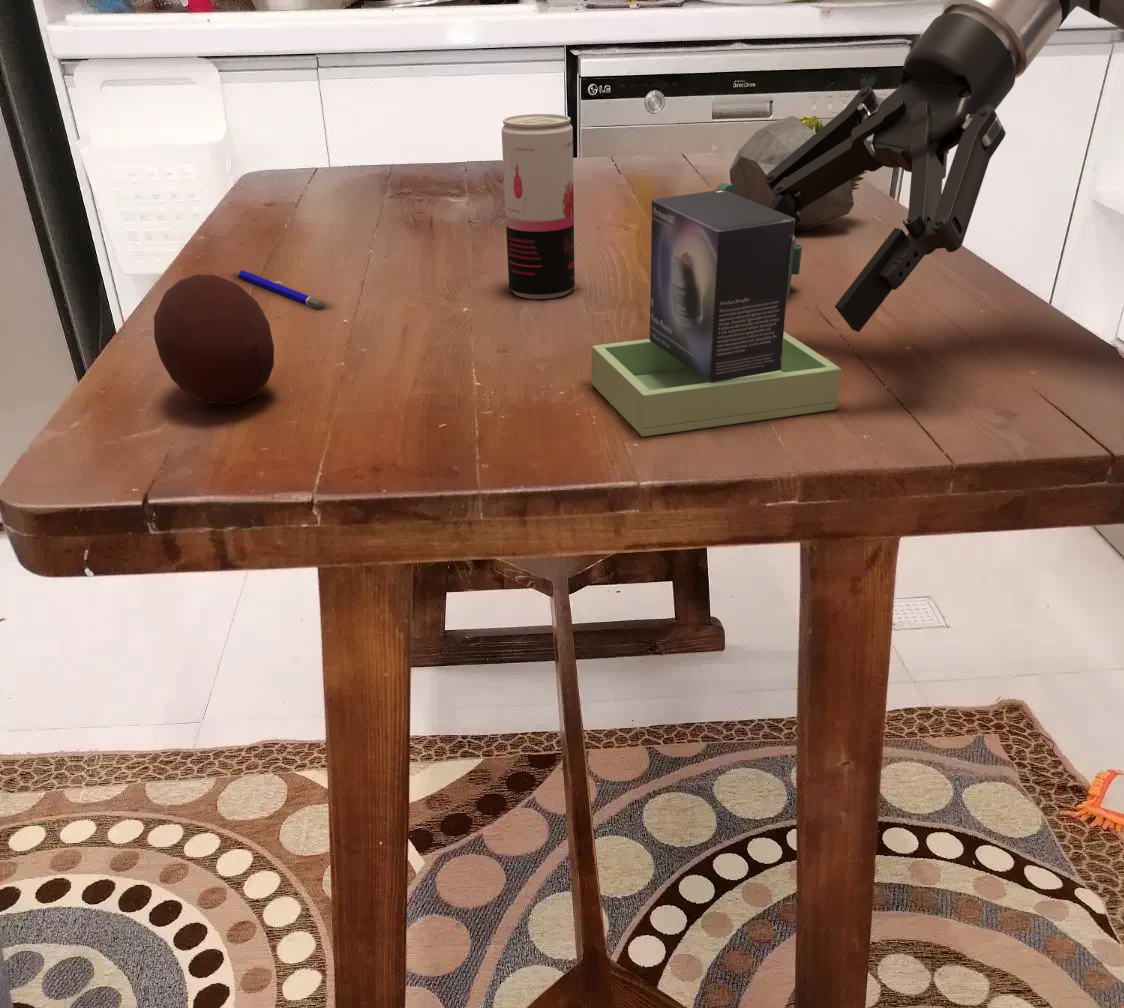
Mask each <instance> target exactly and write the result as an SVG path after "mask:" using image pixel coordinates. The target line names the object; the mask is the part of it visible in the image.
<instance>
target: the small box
mask: <svg viewBox="0 0 1124 1008" xmlns="http://www.w3.org/2000/svg"><path fill="white" fill-rule="evenodd" d="M794 227H795V219H794V218H793V217H791V216H788V215H786V214H783V213H781V212H778V211H776V210H773V209H771V208H768V207H765V206H763V205H761V204H758V203H756V202H753V201H751V200H748V199H746V198H743V197H741V196H738V195H736V194H733V193H731V192H729V191H726V190H723V189H722V190H716V189H715V190H709V191H701V192H695V193H688V194H682V195H675V196H669V197H668V196H667V197H660V198H653V199H651V230H650V231H651V237H650V238H651V239H650V240H651V242H650V245H651V246H650V253H651V254H650V293H649V294H650V297H649V299H650V300H649V301H650V302H649V338H648V339H649V340H650V341H651V342H653V343H654V344H656V345H657V346H659V347H660V348H661V349H663V350H664V351H666V352H667V353H669V354H670V355H671V356H673V357H674V358H676V359H677V360H678V361H680V362H681V363H683V364H684V365H686V366H687V367H689V368H690V369H691V370H693V371H694V372H696V373H697V374H699V375H700V376H701V377H703V378H704V379H706V380H707V381H708V382H716V381H722V380H727V379H733V378H739V377H745V376H751V375H756V374H762V373H768V372H774V371H779V370H781V368H782V352H783V335H784V332H785V321H786V313H787V301H788V299H787V298H788V297H787V290H788V278H789V266H790V257H791V248H792V240H793V235H794V233H795V230H794Z"/></svg>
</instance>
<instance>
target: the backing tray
mask: <svg viewBox="0 0 1124 1008" xmlns="http://www.w3.org/2000/svg"><path fill="white" fill-rule="evenodd" d="M841 374H842V368H841V367H839V366H837V365H836V364H835V363H834V362H832V361H831V360H829V359H827V358H826V357H824V356H823V355H821V354H819V353H818V352H816V351H815V350H813V349H812V348H810V347H809V346H807V345H805V343H802V342H801V341H800V340H798V339H796V338H795V337H794V336H792V335H790V334H788V333H787V332H786V331H784V335H783V352H782V368H781V370H779V371H774V372H768V373H762V374H756V375H751V376H745V377H739V378H733V379H727V380H722V381H716V382H708V381H707V380H706V379H704V378H703V377H701V376H700V375H699V374H697V373H696V372H694V371H693V370H691V369H690V368H689V367H687V366H686V365H684V364H683V363H681V362H680V361H678V360H677V359H676V358H674V357H673V356H671V355H670V354H669V353H667V352H666V351H664V350H663V349H661V348H660V347H659V346H657V345H656V344H654V343H653V342H651V341H650V340H649V338H645V339H635V340H627V341H619V342H611V343H605V344H595V345H594V344H593V345H591V385H592V386H593V387H594V388H595V389H596V391H598V392H599V393H600V394H601V396H603V397H604V399H605V400H606V401H607V402H608V403H609V404H610V405H611V406H612V407H613V408H614V409H615V410H616V411H617V413H619V414H620V415H621V416H622V417H623V418H624V420H626V422H627V423H628V424H629V425H630V426H631V427H632V428H633V429H634V431H636V432H637V433H638V434H639V435H640V436H641V437H642V438H645V437H651V436H659V435H665V434H666V435H667V434H673V433H679V432H686V431H687V432H688V431H693V430H701V429H707V428H708V429H709V428H715V427H716V428H717V427H721V426H729V425H737V424H743V423H751V422H757V421H764V420H765V421H766V420H771V419H779V418H784V417H793V416H799V415H805V414H806V415H807V414H813V413H820V412H827V411H835V410H837V407H838V396H839V390H840V383H841Z"/></svg>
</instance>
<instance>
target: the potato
mask: <svg viewBox="0 0 1124 1008" xmlns="http://www.w3.org/2000/svg"><path fill="white" fill-rule="evenodd" d="M258 302H259V301H257V300H256V299H255V298H254V297H253V296H252V295H250V294H249V293H248V292H247V291H246V290H245V289H244V288H243V287H242V286H240V285H239V284H238V283H236V282H233V281H231V280H228V279H226V278H224V277H221V276H218V275H215V274H194V275H190V276H188V277H185V278H182V279H179V281H177V282H176V283H175V284H173V285H172V286H171V287H169V288H168V289H167V290H166V291H165V293H164V294H163V296H162V298H161V301H160V303H159V305H158V307H157V309H156V311H155V314H154V316H153V330H154V331H153V332H154V333H153V339H154V342H155V346H156V350H157V352H158V356H159V359H160V361H161V363H162V365H163V366H164V368H165V370H166V371H167V374H168V375H169V377H170V378H171V380H172V381H173V382H174V383H175V384H176V385H177V386H178V387H179V388H180V389H181V391H183V392H184V393H187V394H189V395H191V396H192V397H194V398H196V399H198V400H200V401H204V402H208V403H211V404H216V405H217V404H220V405H222V404H223V405H232V404H236V403H241V402H245V401H246V400H248V399H250V398H252V397H253V396H255V395H256V394H258V393H259V392H260V390H262V389H263V388H264V386H265V385H266V384H267V383H268V381H269V380H270V377H271V374H272V371H273V368H274V365H275V345H274V341H273V340H274V339H273V336H272V331H271V326H270V322H269V321H268V318H267V317H266V315H265V313H264V312H263V309H262V308H261V306H260V304H259V303H258Z"/></svg>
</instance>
